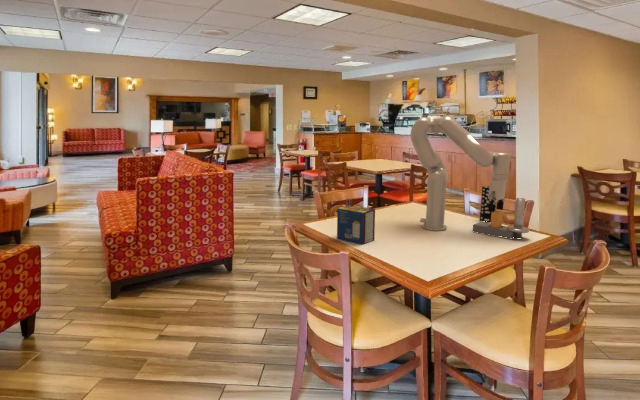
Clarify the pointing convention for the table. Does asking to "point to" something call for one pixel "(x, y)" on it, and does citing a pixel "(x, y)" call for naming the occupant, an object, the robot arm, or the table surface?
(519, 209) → the rosette post
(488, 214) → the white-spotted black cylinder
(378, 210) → the table surface
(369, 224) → the protein box
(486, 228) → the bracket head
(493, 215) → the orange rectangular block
